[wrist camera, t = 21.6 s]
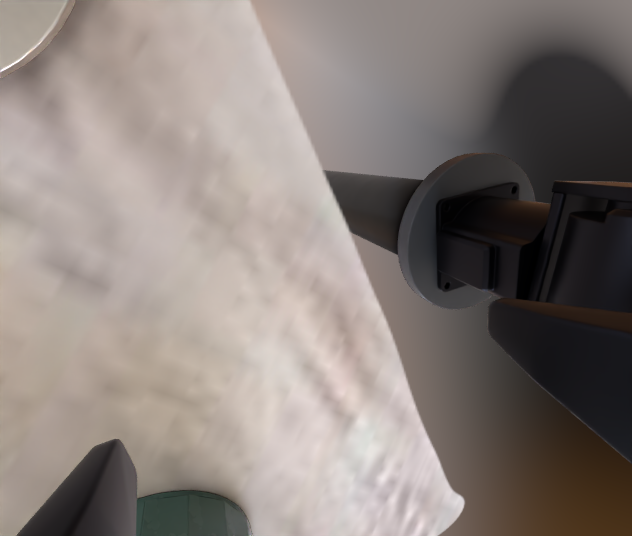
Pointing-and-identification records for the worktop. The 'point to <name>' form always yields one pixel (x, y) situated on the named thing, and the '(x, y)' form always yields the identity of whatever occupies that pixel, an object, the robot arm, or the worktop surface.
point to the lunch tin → (189, 515)
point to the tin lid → (28, 29)
